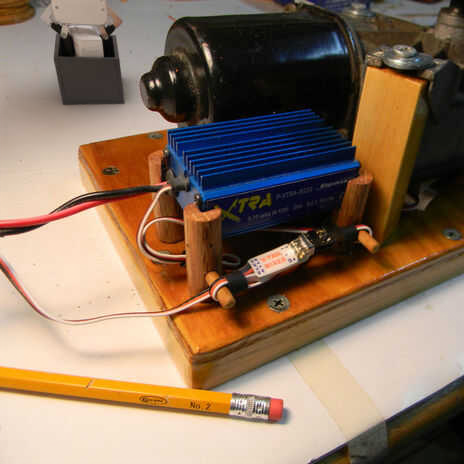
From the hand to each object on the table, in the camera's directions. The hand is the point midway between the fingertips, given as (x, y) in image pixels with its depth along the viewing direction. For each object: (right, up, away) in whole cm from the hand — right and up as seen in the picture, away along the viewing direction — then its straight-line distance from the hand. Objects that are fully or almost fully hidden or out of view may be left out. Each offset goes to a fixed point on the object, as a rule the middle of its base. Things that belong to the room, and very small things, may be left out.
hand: (88, 55), depth 101 cm
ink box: (-1, -6, +5) cm, 7 cm away
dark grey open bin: (-1, -6, +5) cm, 8 cm away
